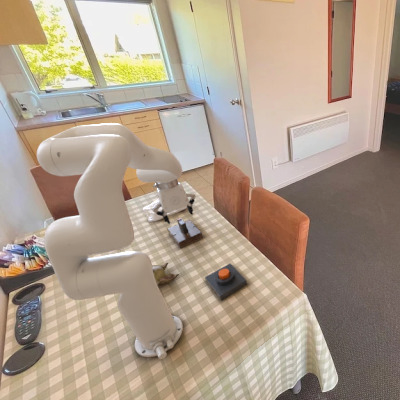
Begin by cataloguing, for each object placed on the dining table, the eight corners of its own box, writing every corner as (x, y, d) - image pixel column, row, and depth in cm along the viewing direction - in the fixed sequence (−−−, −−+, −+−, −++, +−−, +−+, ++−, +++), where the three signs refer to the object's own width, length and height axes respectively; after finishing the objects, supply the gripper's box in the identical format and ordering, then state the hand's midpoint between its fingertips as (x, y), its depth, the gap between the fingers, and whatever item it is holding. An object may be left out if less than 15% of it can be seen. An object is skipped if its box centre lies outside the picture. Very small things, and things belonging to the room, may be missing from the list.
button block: (247, 284, 96) (245, 276, 94) (221, 300, 90) (218, 292, 88) (231, 267, 103) (229, 259, 101) (206, 281, 97) (203, 273, 95)
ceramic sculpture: (117, 271, 90) (163, 250, 100) (125, 289, 94) (168, 267, 105) (128, 287, 84) (176, 263, 95) (137, 305, 88) (181, 280, 99)
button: (231, 275, 95) (230, 272, 94) (222, 281, 93) (221, 277, 92) (226, 270, 97) (226, 267, 96) (217, 275, 95) (216, 272, 94)
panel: (203, 237, 120) (201, 232, 118) (180, 248, 114) (178, 242, 112) (191, 224, 128) (189, 219, 127) (169, 233, 122) (167, 228, 121)
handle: (188, 232, 118) (185, 222, 115) (184, 233, 117) (181, 224, 114) (183, 226, 122) (180, 217, 119) (179, 228, 121) (176, 219, 118)
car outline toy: (152, 225, 128) (146, 212, 124) (144, 216, 135) (139, 204, 131) (192, 208, 141) (188, 196, 137) (183, 201, 147) (179, 190, 143)
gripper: (147, 194, 100) (161, 230, 109) (192, 179, 110) (202, 213, 119) (141, 187, 104) (156, 222, 113) (185, 173, 115) (196, 207, 124)
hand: (180, 217), depth 116 cm, fingers open, 9 cm apart
